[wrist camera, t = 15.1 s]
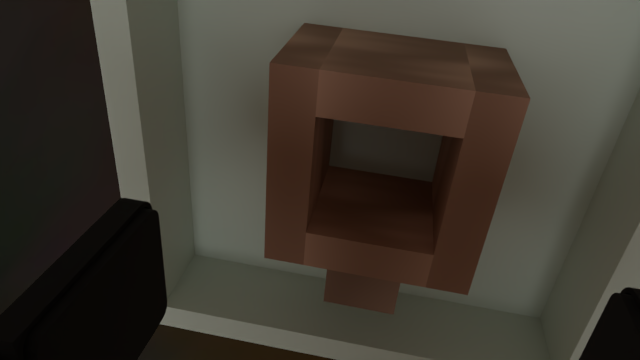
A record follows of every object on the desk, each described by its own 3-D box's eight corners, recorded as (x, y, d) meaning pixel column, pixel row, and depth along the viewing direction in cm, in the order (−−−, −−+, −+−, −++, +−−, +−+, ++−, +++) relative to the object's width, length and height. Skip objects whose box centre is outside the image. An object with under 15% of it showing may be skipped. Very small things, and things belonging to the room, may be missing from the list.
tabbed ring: (506, 48, 14) (530, 99, 11) (444, 269, 19) (448, 353, 16) (304, 22, 15) (269, 62, 12) (290, 242, 20) (262, 317, 16)
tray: (552, 322, 21) (578, 408, 17) (183, 254, 22) (140, 319, 19) (762, -138, 12) (892, -147, 9) (145, -187, 14) (57, -209, 11)
